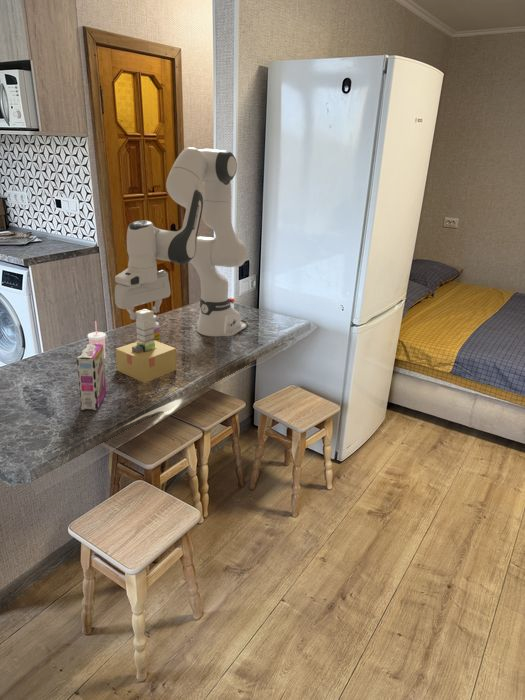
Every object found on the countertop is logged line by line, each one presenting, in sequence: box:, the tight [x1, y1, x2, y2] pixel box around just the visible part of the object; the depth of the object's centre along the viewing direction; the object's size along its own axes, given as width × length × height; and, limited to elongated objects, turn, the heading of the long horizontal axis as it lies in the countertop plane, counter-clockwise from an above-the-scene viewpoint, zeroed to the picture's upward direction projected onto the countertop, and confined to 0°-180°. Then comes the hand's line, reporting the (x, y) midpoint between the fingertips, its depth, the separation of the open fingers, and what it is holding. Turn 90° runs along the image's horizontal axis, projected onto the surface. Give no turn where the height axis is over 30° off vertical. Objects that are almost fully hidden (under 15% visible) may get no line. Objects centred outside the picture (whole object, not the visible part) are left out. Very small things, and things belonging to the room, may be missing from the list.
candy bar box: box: [76, 343, 107, 411], centre depth 140 cm, size 11×5×16 cm, turn 4°
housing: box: [115, 340, 177, 384], centre depth 164 cm, size 14×14×10 cm
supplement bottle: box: [153, 314, 161, 343], centre depth 181 cm, size 7×7×13 cm
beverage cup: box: [87, 320, 107, 360], centre depth 170 cm, size 6×6×14 cm
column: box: [135, 308, 155, 352], centre depth 161 cm, size 4×4×16 cm
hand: (145, 315), depth 158 cm, fingers open, 8 cm apart
